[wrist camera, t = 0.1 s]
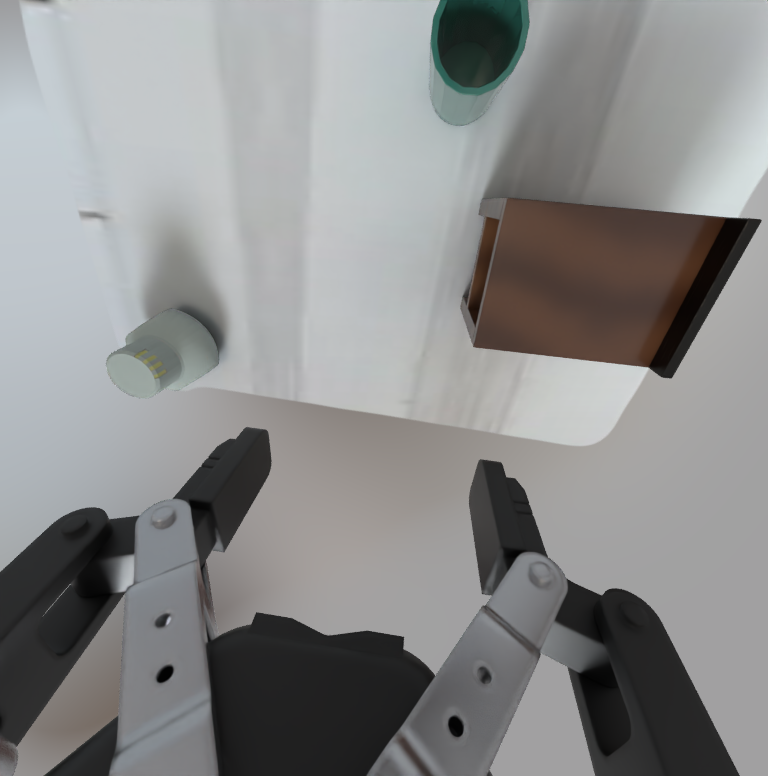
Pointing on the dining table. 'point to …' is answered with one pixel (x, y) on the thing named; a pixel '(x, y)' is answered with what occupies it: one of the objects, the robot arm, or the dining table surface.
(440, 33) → the tumbler
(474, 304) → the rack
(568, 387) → the dining table surface
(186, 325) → the air freshener
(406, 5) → the dining table surface
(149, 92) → the dining table surface
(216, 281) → the dining table surface
